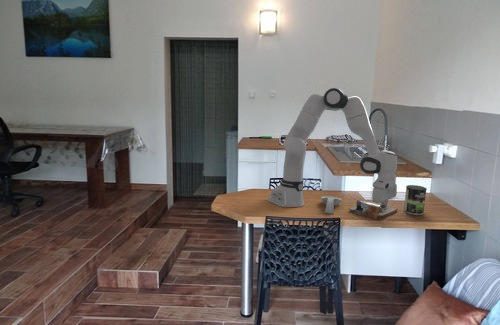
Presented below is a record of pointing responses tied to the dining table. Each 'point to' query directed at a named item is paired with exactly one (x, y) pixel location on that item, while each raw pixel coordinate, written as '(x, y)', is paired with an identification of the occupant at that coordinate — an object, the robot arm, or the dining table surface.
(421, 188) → the coffee can
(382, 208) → the latch bar
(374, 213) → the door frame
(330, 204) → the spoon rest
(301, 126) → the robot arm
